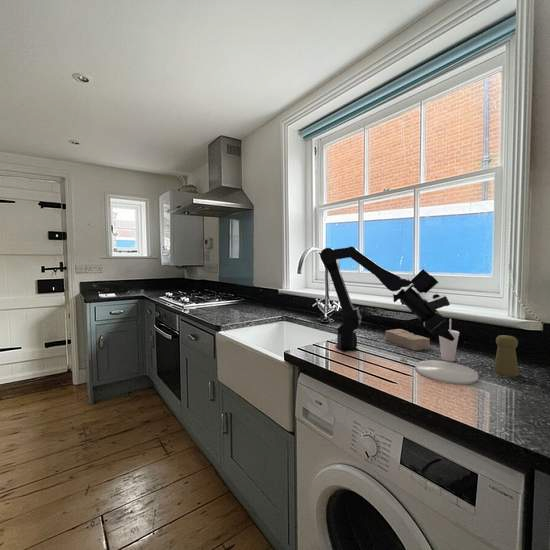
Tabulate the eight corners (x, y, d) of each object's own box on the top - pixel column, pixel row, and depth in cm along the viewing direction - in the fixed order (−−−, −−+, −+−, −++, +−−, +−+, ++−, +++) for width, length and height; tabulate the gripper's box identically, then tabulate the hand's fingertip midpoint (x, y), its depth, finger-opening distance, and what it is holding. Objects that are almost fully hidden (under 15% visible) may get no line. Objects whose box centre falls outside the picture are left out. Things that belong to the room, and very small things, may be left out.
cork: (488, 369, 90) (489, 333, 90) (506, 368, 91) (507, 333, 90) (505, 376, 84) (506, 338, 84) (524, 376, 85) (525, 338, 84)
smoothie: (451, 363, 95) (452, 320, 94) (432, 358, 100) (433, 317, 100) (463, 360, 98) (464, 319, 97) (444, 355, 103) (445, 316, 103)
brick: (431, 349, 112) (431, 337, 112) (413, 351, 109) (414, 338, 109) (400, 339, 128) (400, 328, 127) (384, 340, 125) (384, 329, 125)
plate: (445, 386, 77) (445, 382, 77) (403, 366, 92) (403, 362, 92) (492, 380, 81) (492, 376, 81) (445, 362, 96) (445, 358, 96)
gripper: (437, 288, 91) (478, 326, 88) (430, 285, 109) (464, 316, 105) (409, 312, 94) (448, 350, 91) (406, 305, 112) (439, 336, 108)
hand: (450, 336), depth 99 cm, fingers open, 9 cm apart
